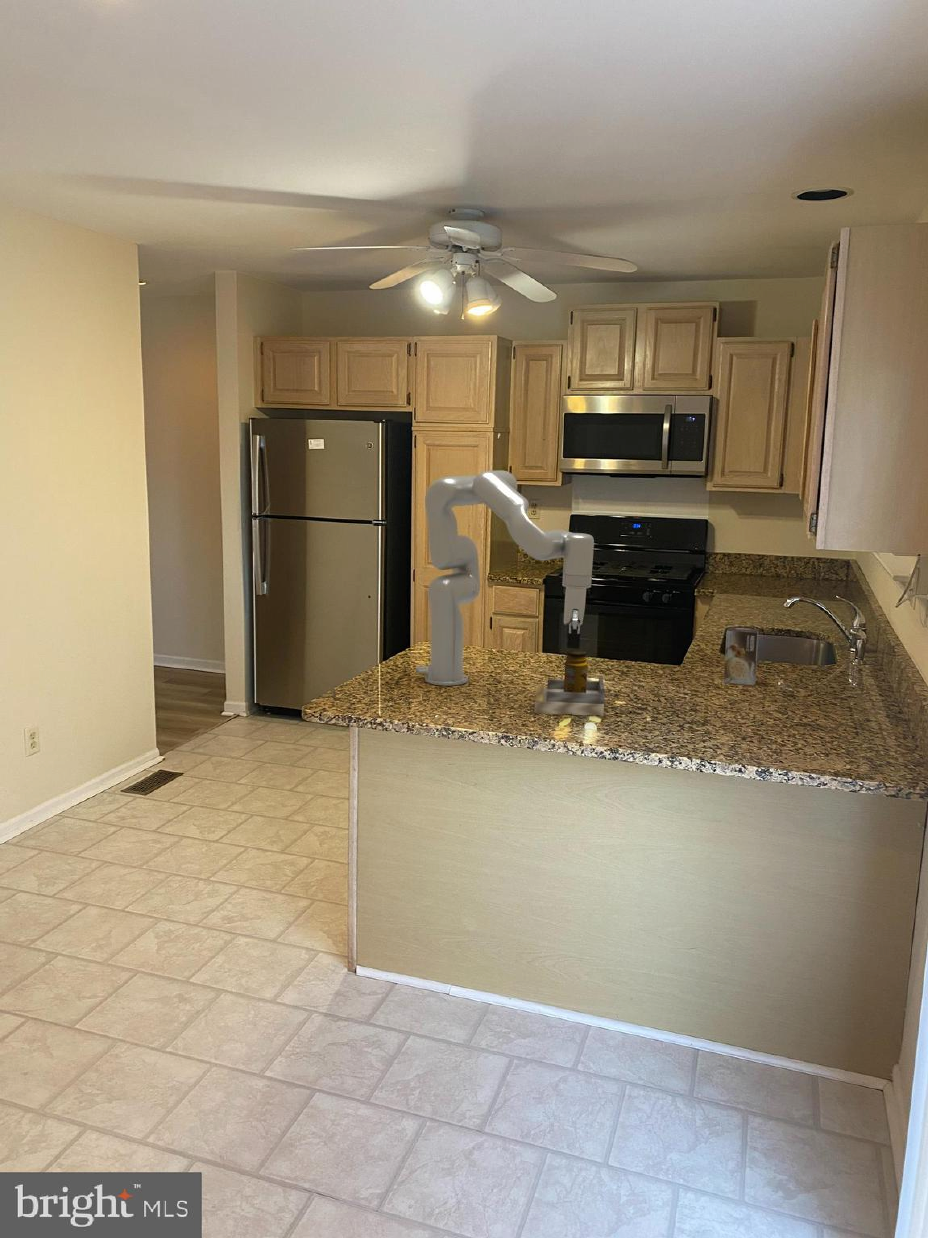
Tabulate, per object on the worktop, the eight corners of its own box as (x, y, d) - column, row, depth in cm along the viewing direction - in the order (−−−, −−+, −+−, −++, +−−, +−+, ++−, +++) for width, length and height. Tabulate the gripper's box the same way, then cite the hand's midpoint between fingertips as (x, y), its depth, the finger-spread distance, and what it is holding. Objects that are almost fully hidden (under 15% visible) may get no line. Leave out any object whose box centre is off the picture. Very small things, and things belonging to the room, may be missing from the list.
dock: (534, 713, 244) (535, 687, 242) (536, 696, 259) (537, 672, 258) (603, 716, 242) (604, 690, 241) (601, 699, 258) (602, 675, 256)
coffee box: (756, 681, 280) (760, 628, 277) (754, 686, 274) (758, 632, 271) (725, 677, 283) (728, 626, 280) (722, 682, 277) (726, 630, 274)
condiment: (592, 697, 249) (594, 653, 247) (567, 701, 245) (569, 656, 242) (576, 690, 255) (577, 647, 253) (551, 694, 251) (552, 651, 248)
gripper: (562, 574, 253) (559, 636, 256) (562, 585, 236) (558, 650, 240) (590, 576, 252) (586, 637, 256) (592, 587, 235) (587, 652, 239)
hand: (573, 643), depth 248 cm, fingers open, 9 cm apart
